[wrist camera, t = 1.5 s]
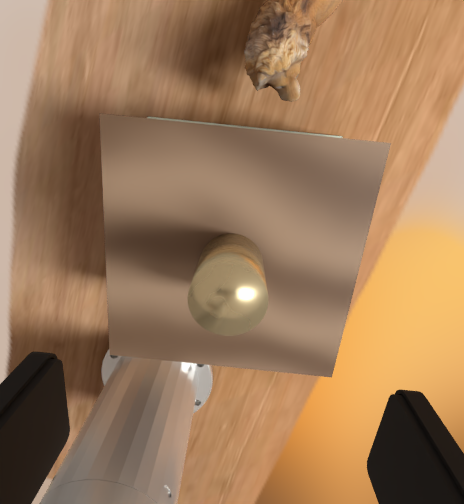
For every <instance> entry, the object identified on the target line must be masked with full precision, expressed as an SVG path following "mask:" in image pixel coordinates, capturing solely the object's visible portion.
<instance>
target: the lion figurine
mask: <svg viewBox="0 0 464 504" xmlns="http://www.w3.org/2000/svg"><path fill="white" fill-rule="evenodd" d="M341 1H342V0H268V1H267V2H265V3H264V4H263V6H262V7H260V8H259V11H258V14H257V17H256V19H255V21H254V22H252V24H251V28H250V32H249V34H248V36H247V38H248V41H247V42H246V49H245V50H244V54H245V58H246V66H245V69H246V71H247V75H249V76H250V79H251V80H252V82H253V85H254V86H255V88H256V90H257V91H258V90H259V89H262V88H267V87H268V86H271V87H273V88H274V89H275V90H276V91H277V92H278V93H279V96H280V98H281V99H282V100H285V101H291V102H292V101H295V100H297V99H298V98H299V96H300V85H299V83H298V81H297V77H298V75H299V72H300V64H301V62H302V61H303V59H304V58H305V57H306V56H307V50H308V49H309V48H308V47H309V45H310V44H311V42H312V40H313V37H314V35H315V31H316V28H317V27H318V26H319V25H321V24H322V23H323V22H324V21H325V20H326V19H327V18H328V17H329V16H330V15H331V14H332V13H333V12H334V11H335V10H336V8H337V7H338V5H339V4H340V3H341Z"/></svg>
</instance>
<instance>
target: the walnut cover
mask: <svg viewBox="0 0 464 504" xmlns="http://www.w3.org/2000/svg"><path fill="white" fill-rule="evenodd" d="M99 115H100V139H101V162H102V186H103V210H104V233H105V257H106V280H107V304H108V328H109V351H110V355H116V356H126V357H136V358H146V359H156V360H165V361H175V362H185V363H195V364H205V365H215V366H225V367H235V368H245V369H254V370H264V371H274V372H284V373H294V374H304V375H314V376H324V377H332V374H333V370H334V366H335V362H336V358H337V354H338V350H339V346H340V342H341V338H342V334H343V330H344V327H345V323H346V319H347V315H348V311H349V307H350V303H351V299H352V295H353V291H354V287H355V283H356V279H357V275H358V271H359V267H360V263H361V259H362V255H363V251H364V247H365V244H366V240H367V236H368V232H369V228H370V224H371V220H372V216H373V212H374V208H375V204H376V200H377V196H378V192H379V188H380V184H381V180H382V176H383V172H384V168H385V164H386V160H387V157H388V153H389V149H390V145H391V143H384V142H374V141H364V140H355V139H345V138H335V137H325V136H316V135H306V134H296V133H286V132H277V131H267V130H257V129H247V128H238V127H228V126H218V125H208V124H199V123H189V122H179V121H170V120H160V119H150V118H140V117H131V116H121V115H111V114H101V113H99Z"/></svg>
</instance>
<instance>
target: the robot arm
mask: <svg viewBox="0 0 464 504" xmlns="http://www.w3.org/2000/svg"><path fill="white" fill-rule="evenodd" d="M101 374H102V380H103V384H104V388H103V389H102V391H101V393H100V395H99V397H98V399H97V400H96V402H95V404H94V406H93V408H92V409H91V411H90V413H89V415H88V417H87V419H86V420H85V422H84V424H83V426H82V428H81V429H80V431H79V433H78V435H77V437H76V438H75V440H74V442H73V444H72V446H71V448H70V449H69V451H68V453H67V455H66V457H65V458H64V460H63V462H62V464H61V466H60V468H59V469H58V471H57V473H56V475H55V477H54V478H53V480H52V482H51V484H50V486H49V488H48V489H47V491H46V493H45V495H44V497H43V499H42V500H41V502H40V504H177V501H178V495H179V490H180V484H181V479H182V473H183V467H184V462H185V456H186V451H187V445H188V440H189V434H190V428H191V423H192V417H193V413H195V412H196V411H197V410H198V409H200V408H201V407H202V406H203V404H204V403H205V402H206V401H207V399H208V397H209V395H210V393H211V388H212V382H213V372H212V366H211V365H205V364H195V363H185V362H175V361H165V360H156V359H146V358H136V357H126V356H116V355H110V351H109V350H108V351H107V353H106V355H105V357H104V359H103V362H102V368H101ZM69 432H70V426H69V417H68V408H67V400H66V391H65V382H64V373H63V364H62V361H61V360H58V359H57V356H56V355H55V354H53V353H43V352H32V353H30V354H29V355H28V356H27V357H26V358H25V359H24V360H23V361H22V362H21V363H20V364H19V365H18V366H17V367H16V368H15V369H14V371H13V372H12V373H11V374H10V375H9V376H8V377H7V378H6V379H5V380H4V381H3V382H2V383H1V384H0V504H31V503H32V501H33V500H34V498H35V496H36V494H37V493H38V491H39V489H40V487H41V486H42V484H43V482H44V481H45V479H46V477H47V475H48V474H49V472H50V470H51V468H52V467H53V465H54V463H55V461H56V460H57V458H58V456H59V454H60V453H61V451H62V449H63V447H64V446H65V444H66V442H67V439H68V436H69ZM367 470H368V474H369V478H370V480H371V483H372V486H373V489H374V492H375V494H376V497H377V500H378V502H379V504H464V453H463V452H462V451H461V449H460V448H459V446H458V445H457V443H456V442H455V440H454V439H453V437H452V436H451V434H450V433H449V431H448V430H447V428H446V427H445V425H444V424H443V422H442V421H441V419H440V418H439V416H438V415H437V413H436V412H435V411H434V409H433V407H432V406H431V405H430V403H429V402H428V400H427V399H426V397H425V396H424V395H423V393H421V392H418V391H408V390H397V391H396V393H395V395H394V394H393V395H391V396H390V397H389V400H388V402H387V405H386V408H385V411H384V414H383V417H382V420H381V422H380V426H379V428H378V431H377V434H376V437H375V440H374V443H373V445H372V448H371V451H370V454H369V457H368V460H367Z"/></svg>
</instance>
